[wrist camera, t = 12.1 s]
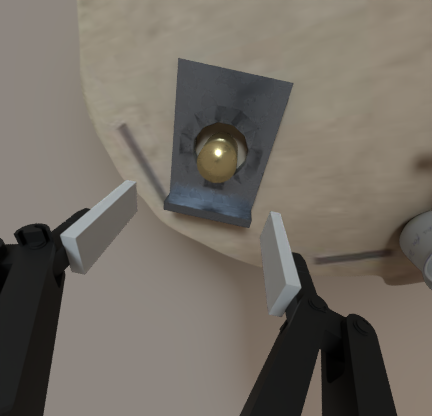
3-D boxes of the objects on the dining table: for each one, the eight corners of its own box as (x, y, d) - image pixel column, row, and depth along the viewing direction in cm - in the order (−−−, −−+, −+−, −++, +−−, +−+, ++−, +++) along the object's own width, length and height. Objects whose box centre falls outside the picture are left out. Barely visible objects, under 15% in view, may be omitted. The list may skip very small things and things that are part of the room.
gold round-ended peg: (208, 128, 30) (199, 140, 24) (241, 136, 30) (240, 149, 24) (203, 160, 32) (194, 178, 26) (233, 167, 32) (231, 186, 26)
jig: (182, 59, 25) (170, 55, 21) (290, 83, 25) (299, 83, 21) (172, 194, 36) (163, 209, 32) (248, 211, 36) (249, 228, 32)
